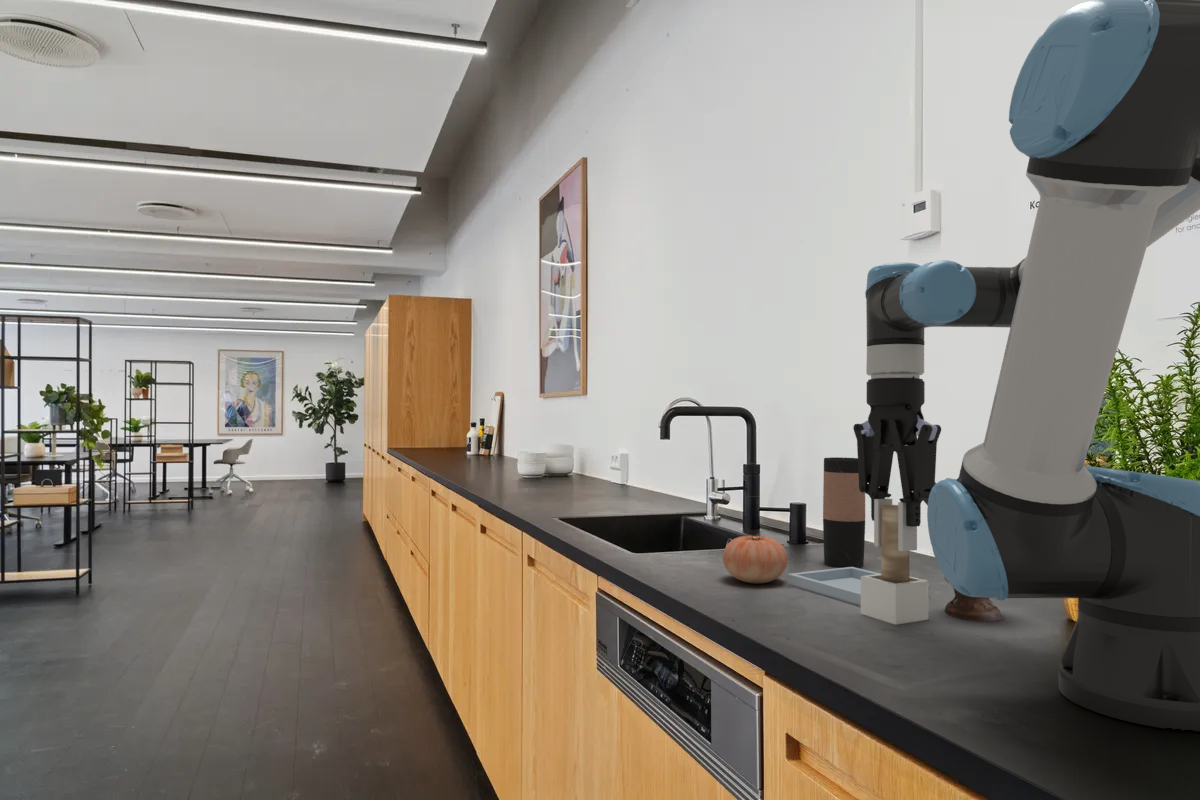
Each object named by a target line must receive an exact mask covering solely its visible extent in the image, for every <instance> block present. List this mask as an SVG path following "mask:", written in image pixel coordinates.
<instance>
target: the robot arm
mask: <svg viewBox="0 0 1200 800" xmlns="http://www.w3.org/2000/svg"><path fill="white" fill-rule="evenodd" d="M1033 44H1034V45H1033V46H1032V48H1031V49H1030V51H1029V53H1028V54H1027V56H1026V58H1025V60H1024V62H1023V64H1022V66H1021V68H1020V71H1019V73H1018V76H1017V78H1016V82H1015V85H1014V86H1013V92H1012V95H1011V99H1010V105H1009V109H1008V110H1009V111H1008V112H1009V113H1008V122H1009V123H1010V124H1011V127H1010V129H1009V135H1010V138H1011V141H1012V144H1013V145H1014V147H1015V148H1016V149H1017V150H1018V152H1020V153H1022V154H1023V155H1024V156H1026V157H1028V158H1029V159H1028V164H1027V167H1026V173H1025V177H1026V178H1027V179H1028V180H1029V181H1030V183H1031V184H1032V185H1033V187H1034V188H1035V189H1036V190H1037V192H1038V194H1039V197H1040V198H1039V203H1038V207H1037V210H1036V216H1035V219H1034V224H1033V229H1032V232H1031V236H1030V242H1029V245H1028V248H1027V249H1028V250H1027V254H1026V257H1025V258H1024V259H1022V260H1021V261H1020V262H1018V263H1017V264H1016V265H1015V266H1010V267H1004V266H1003V267H997V266H996V267H994V266H987V267H983V266H963V265H962V264H960V263H959V262H958V263H957V262H956V261H953V260H947V259H946V260H942V259H941V260H937V261H932V262H926V263H924V264H923V265H920V264H918V263H915V262H914V263H913V262H890V263H884V264H878V265H875V266H873V267H872V268H870V269H869V270H868V273H867V277H866V278H867V279H866V289H865V292H864V293H865V299H866V301H865V302H866V303H865V304H866V308H865V309H866V311H865V312H866V368H865V369H866V371H865V372H866V375H867V376H869V377H870V379H868V380H867V381H866V404H867V405H868V406H869V408H870V411H869V414H868V417H867V420H866V421H864V422H862V423H855V424H854V425H853V427H852V428H853V432H854V435H855V438H856V447H857V448H856V449H857V458H858V473H859V490H860V492H862V493H864V492H865V495H866V494H867V495H868V496H869V498H870V506H871V507H870V508H871V510H870V513H871V517H870V518H871V521H872V522H874V523H873V529H874V530H873V531H874V532H873V539H874V540H873V542H874V543H873V547H877V548H880V547H881V548H882V505H893V498H890V497H892V494H891V493H889V489H890V488H889V486H890V480H891V474H892V467H893V458H894V452H895V453H896V457H897V463H898V470H899V479H900V485H901V491H902V497H901V498H899V501H898V502H897V503H898V504H897V505H898V551H909V552H911V551H918V527H920V525H921V520H922V519H921V518H922V517H921V513H922V512H921V510H922V509H921V508H922V507H921V505H922V502H924V501H923V500H925V499H928V498H929V499H928V505H927V509H926V511H927V513H926V515H927V516H926V517H927V528H928V529H927V530H928V535H929V541H930V544H931V547H932V552H933V555H934V558H935V561H936V563H937V565H938V567H939V570H940V571H941V573H942V575H943V577H945V578H946V580H947V581H948V582H949V583H948V582H947V581H946V580H945V581H946V582H947V583H948V584H949V585H950V586H951V587H952V589H953V588H954V589H956V590H957V591H958V592H960V593H962V594H964V595H966V596H970V597H985V598H989V599H991V598H992V599H995V600H996V601H1005V600H1007V599H1077V601H1078V602H1077V603H1078V604H1077V608H1078V613H1077V619H1076V621H1075V625H1074V627H1073V630H1072V632H1071V636H1070V638H1069V639H1068V643H1067V645H1066V648H1065V650H1064V653H1063V655H1062V658H1061V660H1060V663H1059V666H1058V690H1059V692H1060V694H1062V696H1064V697H1065V698H1066V699H1067V700H1069V701H1070V702H1072V703H1074V704H1076V705H1078V706H1080V707H1082V708H1084V709H1087V710H1089V711H1091V712H1095V713H1097V714H1101V715H1104V716H1107V717H1111V718H1113V719H1117V720H1121V721H1123V722H1124V721H1125V722H1129V723H1133V724H1137V725H1142V726H1148V727H1153V728H1158V729H1159V728H1160V729H1166V728H1174V729H1182V730H1181V731H1184V730H1193V731H1192V732H1200V481H1199V480H1194V479H1188V478H1183V477H1175V476H1168V475H1159V474H1154V473H1146V472H1137V471H1130V470H1123V469H1122V470H1121V469H1115V468H1114V469H1113V468H1107V467H1105V468H1104V467H1099V466H1097V467H1096V466H1091V465H1090V466H1087V465H1085V462H1086V458H1087V454H1088V451H1089V448H1090V444H1091V440H1092V437H1093V434H1094V430H1095V427H1096V424H1097V420H1098V418H1099V413H1100V410H1101V406H1102V403H1103V399H1104V395H1105V392H1106V388H1107V385H1108V382H1109V380H1110V379H1109V378H1110V374H1111V372H1112V371H1111V370H1112V369H1113V364H1114V361H1115V358H1116V355H1117V354H1116V353H1117V351H1118V347H1119V344H1120V340H1121V336H1122V333H1123V331H1124V328H1125V327H1124V326H1125V323H1126V319H1127V316H1128V313H1129V309H1130V306H1131V302H1132V299H1133V296H1134V292H1135V289H1136V285H1137V283H1138V282H1137V281H1138V278H1139V275H1140V272H1141V267H1142V265H1143V260H1144V258H1145V257H1144V256H1145V253H1146V251H1147V248H1148V247H1150V246H1152V245H1153V244H1155V242H1157V241H1158V240H1160V239H1161V238H1162V237H1164V236H1165V235H1166V234H1168V233H1169V232H1170V231H1172V230H1173V229H1175V228H1176V227H1178V226H1179V225H1180V224H1182V223H1183V222H1184V221H1186V220H1187V219H1188V218H1191V216H1193V215H1194V214H1195V213H1197V212H1198V211H1199V210H1200V0H1086V1H1083V2H1080V3H1078V4H1076V5H1073V6H1072V7H1070V8H1068V9H1067V10H1065V11H1064V12H1063V13H1061V14H1060V15H1058V17H1056V18H1055V19H1054V20H1053V21H1052V22H1051V23H1050V24H1049V25H1048V26H1047V28H1046V29H1045V31H1044V32H1043V34H1042V35H1040V36H1039V37H1038V39H1037V40H1036V41H1035V43H1033ZM933 327H934V328H937V327H938V328H939V327H940V328H951V327H952V328H1009V332H1008V336H1007V342H1006V345H1005V350H1004V353H1003V358H1002V362H1001V365H1000V366H1001V367H1000V372H999V376H998V380H997V384H996V389H995V393H994V398H993V401H992V406H991V410H990V415H989V419H988V423H987V427H986V432H985V435H984V436H985V437H984V440H983V442H982V443H980V444H978V445H976V446H974V447H972V448H970V449H968V450H967V451H966V452H965V453H964V455H963V458H962V462H961V466H960V470H959V475H958V478H956V479H955V478H952V477H951V478H950V477H947V478H945V479H942V480H940V481H938V482H936V467H937V447H938V445H937V444H938V441H939V439H940V438H939V437H940V435H941V432H942V427H941V425H940V424H932V423H929V422H928V421H926V420H925V417H924V414H923V412H922V407H923V406H924V404H925V403H926V402H925V401H926V400H925V397H926V396H925V395H926V394H925V393H926V392H925V391H926V390H925V380H923V378H920V376H922V375H923V374H925V328H933ZM935 482H936V485H935ZM945 578H944V579H945ZM954 589H953V590H954ZM1163 727H1164V728H1163ZM1174 729H1173V730H1174ZM1194 730H1195V731H1194Z"/></svg>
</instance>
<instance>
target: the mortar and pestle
mask: <svg viewBox="0 0 1200 800" xmlns="http://www.w3.org/2000/svg"><path fill="white" fill-rule="evenodd" d="M936 483H937V482H936V481H935V485H936ZM928 499H929V498H928ZM928 499H925V500H923V501H922V502H924V503H925V505H926V506H928ZM943 577H944V576H943ZM944 580H945V581H946V582H947V583H948V584H949V582H948V581H947V580H946V578H945V577H944ZM952 589H953V591H954V597H953V599H952V600H950V601H949V602H947V604H946V605H945V608H944V609H943V612H944V613H945V614H946V615H948V616H951V617H953V618H956V619H962V620H966V621H976V622H995V621H1000V620H1001V619H1002V618H1003V616H1002V612H1001V610H1000V609H999V608H998V606H996V605H994V603H993V601H992V600H991V599H990V598H985V597H970V596H966V595H964V594H962V593H960V592H958V591H957V590H956V589H954V588H953V587H952Z"/></svg>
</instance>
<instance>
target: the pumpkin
mask: <svg viewBox="0 0 1200 800" xmlns="http://www.w3.org/2000/svg"><path fill="white" fill-rule="evenodd" d="M722 562H723V565H724V568H725V569H726V571H727V572H728V573H729V574H730V575H731V576H732V577H733V578H735V579H737V580H738V581H740V582H744V583H746V584H747V583H748V584H760V585H761V584H765V583H767V584H768V583H770V582H772V581H774V580H776V579H778V578H780V576H782V574H783V573H784V572H785V571H786V569H787V565H788V554H787V552H786V550H785V547H784V546H783V545H782V543H781V542H779V541H778V540H776V539H774V538H771V537H767V536H761V535H759V534H758V533H756V535H752V534H749V535H742V536H738V537H735V538H733V539H731V540H730V541H729V542H728V543H727V544H726V546H725V547H724V550H723V553H722Z"/></svg>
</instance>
